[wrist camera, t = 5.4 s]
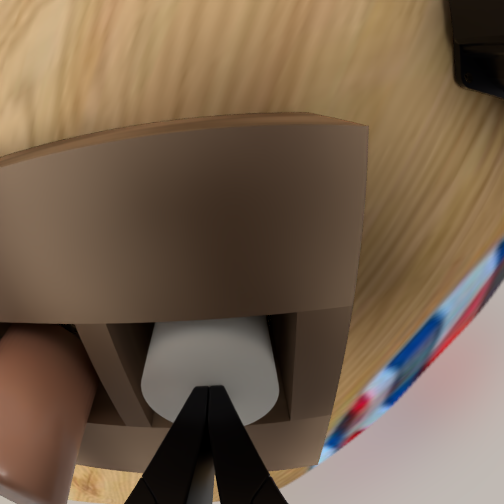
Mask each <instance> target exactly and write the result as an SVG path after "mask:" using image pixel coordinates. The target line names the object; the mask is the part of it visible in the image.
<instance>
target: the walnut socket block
mask: <svg viewBox="0 0 504 504" xmlns="http://www.w3.org/2000/svg"><path fill="white" fill-rule="evenodd" d="M368 134H369V126H366V125H362V124H358V123H354V122H350V121H345V120H341V119H336V118H332V117H327V116H322V115H317V114H312V113H307V112H287V113H253V114H234V115H220V116H208V117H197V118H187V119H178V120H170V121H162V122H155V123H148V124H141V125H135V126H129V127H123V128H117V129H112V130H106V131H101V132H96V133H91V134H86V135H82V136H77V137H73V138H68V139H64V140H60V141H56V142H52V143H48V144H44V145H40V146H37V147H33V148H29V149H26V150H22V151H19V152H16V153H12V154H9V155H6V156H3V157H0V340H1V338H2V337H3V335H4V334H5V332H6V331H7V329H8V328H9V326H10V325H11V324H12V323H49V324H58V325H59V324H75V326H76V329H77V331H78V333H79V334H73V335H75V336H76V337H77V338H78V339H79V340H80V341H81V342H82V343H83V345H84V347H85V349H86V351H87V353H88V356H89V358H90V360H91V362H92V364H93V366H94V368H95V370H96V372H97V374H98V376H99V378H100V382H99V385H98V388H97V391H96V394H95V397H94V400H93V404H92V407H91V410H90V414H89V417H88V420H87V424H86V427H85V431H84V435H83V438H82V442H81V446H80V449H79V453H78V457H77V461H76V464H78V465H83V466H89V467H95V468H102V469H109V470H117V471H126V472H137V473H144V471H145V470H146V468H147V466H148V465H149V463H150V461H151V460H152V458H153V456H154V455H155V453H156V451H157V450H158V448H159V446H160V445H161V443H162V441H163V439H164V438H165V436H166V434H167V433H168V431H169V429H170V428H171V426H172V424H173V422H171V421H169V420H167V419H165V418H163V417H162V416H160V415H159V414H158V413H156V412H155V411H154V410H153V409H152V408H151V407H150V406H149V405H148V403H147V402H146V400H145V398H144V396H143V394H142V390H141V380H142V376H143V371H144V367H145V362H146V358H147V354H148V349H149V345H150V341H151V337H152V333H153V329H154V325H155V322H172V321H191V320H208V319H223V318H237V317H250V316H261V315H271V325H272V326H268V330H269V335H270V341H271V346H272V352H273V357H274V362H275V368H276V373H277V379H278V384H279V396H278V399H277V401H276V403H275V405H274V406H273V408H272V409H271V410H270V411H269V412H268V413H267V414H266V415H265V416H263V417H262V418H260V419H259V420H257V421H255V422H253V423H251V424H248V425H245V426H244V427H245V429H246V431H247V433H248V435H249V437H250V439H251V440H252V442H253V444H254V446H255V448H256V450H257V452H258V454H259V455H260V457H261V459H262V461H263V463H264V465H265V466H266V468H267V470H268V471H277V470H285V469H293V468H300V467H306V466H312V465H318V462H319V459H320V455H321V452H322V448H323V444H324V441H325V437H326V433H327V429H328V426H329V422H330V418H331V414H332V409H333V405H334V401H335V397H336V392H337V388H338V383H339V379H340V374H341V369H342V364H343V359H344V354H345V349H346V344H347V338H348V332H349V327H350V321H351V315H352V309H353V302H354V295H355V289H356V281H357V274H358V266H359V258H360V249H361V240H362V231H363V220H364V209H365V196H366V181H367V162H368ZM214 475H215V473H214Z"/></svg>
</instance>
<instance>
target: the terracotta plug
mask: <svg viewBox="0 0 504 504" xmlns="http://www.w3.org/2000/svg"><path fill="white" fill-rule="evenodd" d="M99 382H100V378H99V376H98V374H97V372H96V370H95V368H94V366H93V364H92V362H91V360H90V358H89V356H88V353H87V351H86V349H85V347H84V345H83V343H82V342H81V341H80V340H79V339H78V338H77V337H76V336H75V335H73V334H72V333H70V332H69V331H68V330H66V329H65V328H63V327H61V326H59V325H58V324H49V323H12V324H11V325H10V326H9V328H8V329H7V331H6V332H5V334H4V335H3V337H2V338H1V340H0V495H1V496H3V497H5V498H7V499H9V500H11V501H13V502H15V503H17V504H67V500H68V496H69V491H70V486H71V482H72V478H73V473H74V469H75V465H76V461H77V457H78V453H79V449H80V446H81V442H82V438H83V435H84V431H85V427H86V424H87V420H88V417H89V414H90V410H91V407H92V404H93V400H94V397H95V394H96V391H97V388H98V385H99Z"/></svg>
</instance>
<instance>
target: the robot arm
mask: <svg viewBox="0 0 504 504" xmlns="http://www.w3.org/2000/svg"><path fill="white" fill-rule="evenodd" d="M449 1H450V9H451V17H452V27H453V39H454V54H455V77H456V81H457V83H458V84H459V85H460V87H462V88H465V89H469V90H473V91H477V92H480V93H484V94H487V95H491V96H494V97H497V98H500V99H504V0H449ZM465 74H466V75H467V81H466V80H465ZM214 473H215V475H216V481H217V487H218V492H219V498H220V503H221V504H288V503H287V501H286V500H285V498H284V497H283V495H282V494H281V492H280V491H279V489H278V487H277V486H276V484H275V482H274V480H273V479H272V477H270V474H269V472H268V470H267V468H266V466H265V465H264V463H263V461H262V459H261V457H260V455H259V454H258V452H257V450H256V448H255V446H254V444H253V442H252V440H251V439H250V437H249V435H248V433H247V431H246V429H245V427H244V425H243V423H242V421H241V419H240V417H239V415H238V413H237V411H236V409H235V407H234V405H233V403H232V401H231V399H230V397H229V395H228V393H227V391H226V389H225V387H224V386H223V385H212V386H210V387H209V386H195V387H194V388H193V390H192V392H191V393H190V395H189V397H188V398H187V400H186V402H185V404H184V405H183V407H182V409H181V411H180V412H179V414H178V416H177V417H176V419H175V421H174V422H173V424H172V426H171V428H170V429H169V431H168V433H167V434H166V436H165V438H164V439H163V441H162V443H161V445H160V446H159V448H158V450H157V451H156V453H155V455H154V456H153V458H152V460H151V461H150V463H149V465H148V466H147V468H146V470H145V471H144V473H143V475H142V477H143V478H140V480H139V481H138V483H137V485H136V486H135V488H134V489H133V491H132V493H131V494H130V496H129V497H128V499H127V500H126V501H125V503H124V504H212V500H213V486H214Z"/></svg>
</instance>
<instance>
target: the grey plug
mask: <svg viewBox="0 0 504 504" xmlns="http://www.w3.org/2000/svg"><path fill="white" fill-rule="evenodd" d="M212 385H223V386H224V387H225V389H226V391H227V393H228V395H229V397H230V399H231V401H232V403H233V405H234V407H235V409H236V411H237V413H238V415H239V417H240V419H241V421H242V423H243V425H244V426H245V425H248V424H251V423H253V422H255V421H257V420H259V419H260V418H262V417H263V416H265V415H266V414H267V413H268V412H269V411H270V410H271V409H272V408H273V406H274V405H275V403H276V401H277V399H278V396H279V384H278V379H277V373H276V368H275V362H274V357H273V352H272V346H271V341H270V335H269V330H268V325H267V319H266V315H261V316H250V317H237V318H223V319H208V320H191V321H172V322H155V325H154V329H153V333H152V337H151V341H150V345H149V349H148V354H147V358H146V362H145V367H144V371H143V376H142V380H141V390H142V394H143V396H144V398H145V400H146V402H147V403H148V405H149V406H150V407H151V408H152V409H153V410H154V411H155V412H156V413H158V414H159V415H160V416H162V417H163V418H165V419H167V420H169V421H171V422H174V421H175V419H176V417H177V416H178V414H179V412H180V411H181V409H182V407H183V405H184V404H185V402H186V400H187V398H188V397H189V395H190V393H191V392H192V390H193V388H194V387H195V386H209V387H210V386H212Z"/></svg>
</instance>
